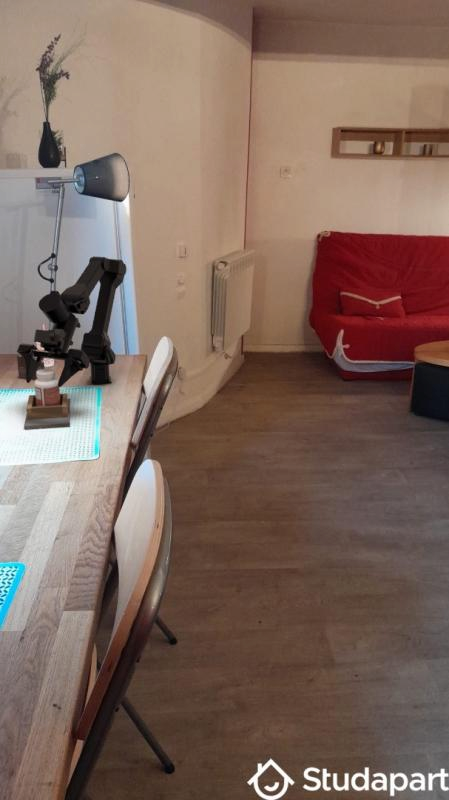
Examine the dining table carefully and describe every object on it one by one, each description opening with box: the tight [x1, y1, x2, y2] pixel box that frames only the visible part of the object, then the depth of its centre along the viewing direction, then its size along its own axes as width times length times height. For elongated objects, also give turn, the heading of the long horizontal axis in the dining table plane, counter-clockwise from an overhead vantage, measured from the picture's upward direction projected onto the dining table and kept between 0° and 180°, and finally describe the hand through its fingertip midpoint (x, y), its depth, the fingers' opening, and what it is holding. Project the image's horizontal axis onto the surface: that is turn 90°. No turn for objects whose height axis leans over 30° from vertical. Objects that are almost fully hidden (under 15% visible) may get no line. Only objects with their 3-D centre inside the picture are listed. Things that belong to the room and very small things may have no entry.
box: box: [16, 354, 46, 381], centre depth 178 cm, size 6×6×7 cm
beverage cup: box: [35, 323, 55, 368], centre depth 188 cm, size 6×6×14 cm
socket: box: [23, 392, 71, 431], centre depth 149 cm, size 18×11×4 cm, turn 14°
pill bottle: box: [33, 368, 61, 406], centre depth 148 cm, size 6×6×11 cm
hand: (43, 384), depth 145 cm, fingers open, 9 cm apart
